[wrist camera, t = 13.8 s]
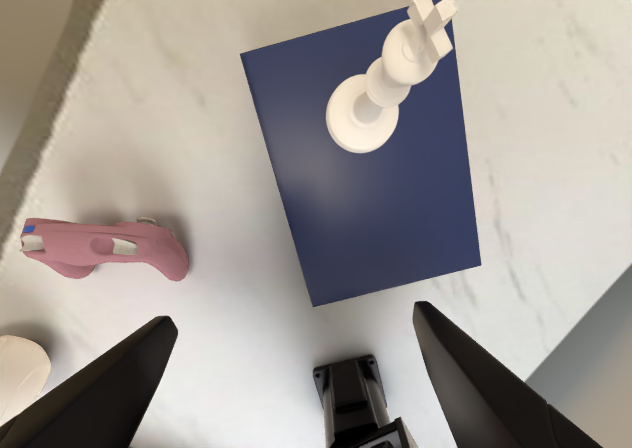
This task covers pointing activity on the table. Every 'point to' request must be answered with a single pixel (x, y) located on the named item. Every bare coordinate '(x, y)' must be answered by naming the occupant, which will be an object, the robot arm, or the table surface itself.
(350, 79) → the chess piece
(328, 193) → the blue book
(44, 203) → the table surface
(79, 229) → the video game controller
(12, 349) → the white ball
